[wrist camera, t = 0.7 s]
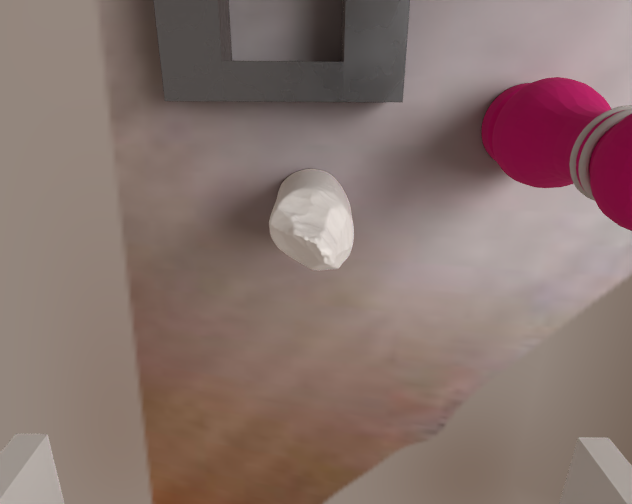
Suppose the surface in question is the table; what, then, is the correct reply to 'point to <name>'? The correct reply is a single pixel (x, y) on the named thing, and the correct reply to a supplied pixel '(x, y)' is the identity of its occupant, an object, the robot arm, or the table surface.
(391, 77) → the hole plate
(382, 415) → the table surface
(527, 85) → the pepper mill
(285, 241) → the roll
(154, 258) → the table surface
